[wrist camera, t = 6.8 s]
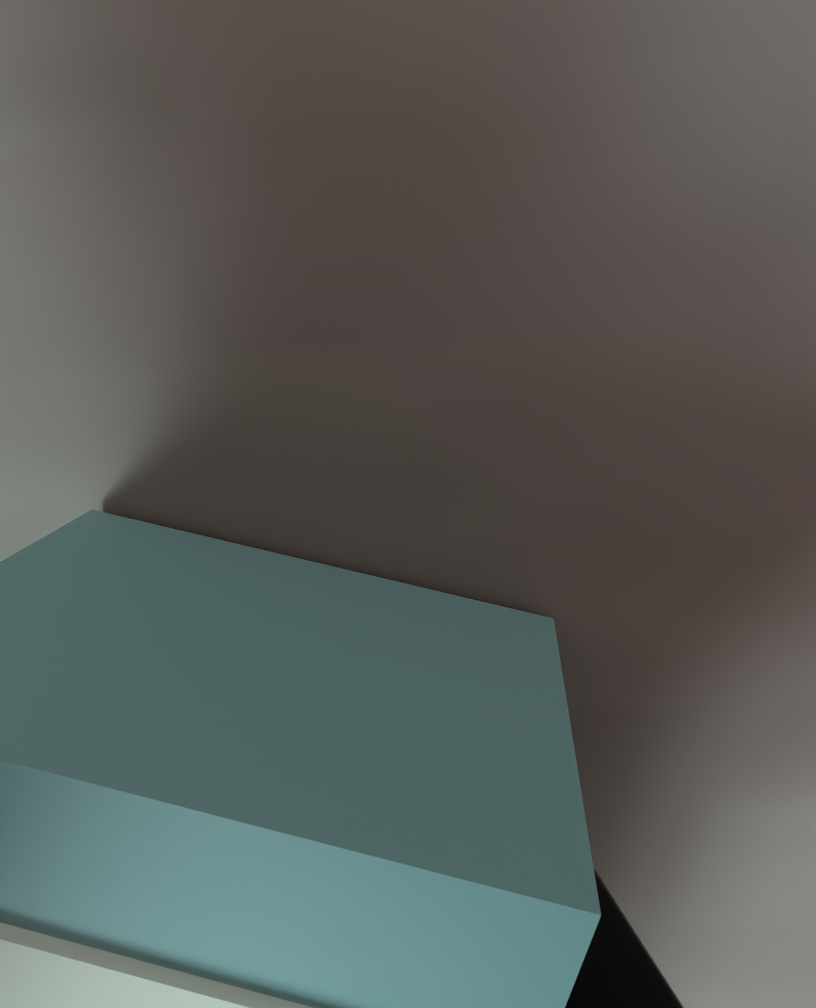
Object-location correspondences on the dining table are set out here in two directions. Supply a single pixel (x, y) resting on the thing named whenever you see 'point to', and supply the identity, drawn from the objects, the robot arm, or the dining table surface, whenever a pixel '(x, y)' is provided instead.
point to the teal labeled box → (278, 785)
